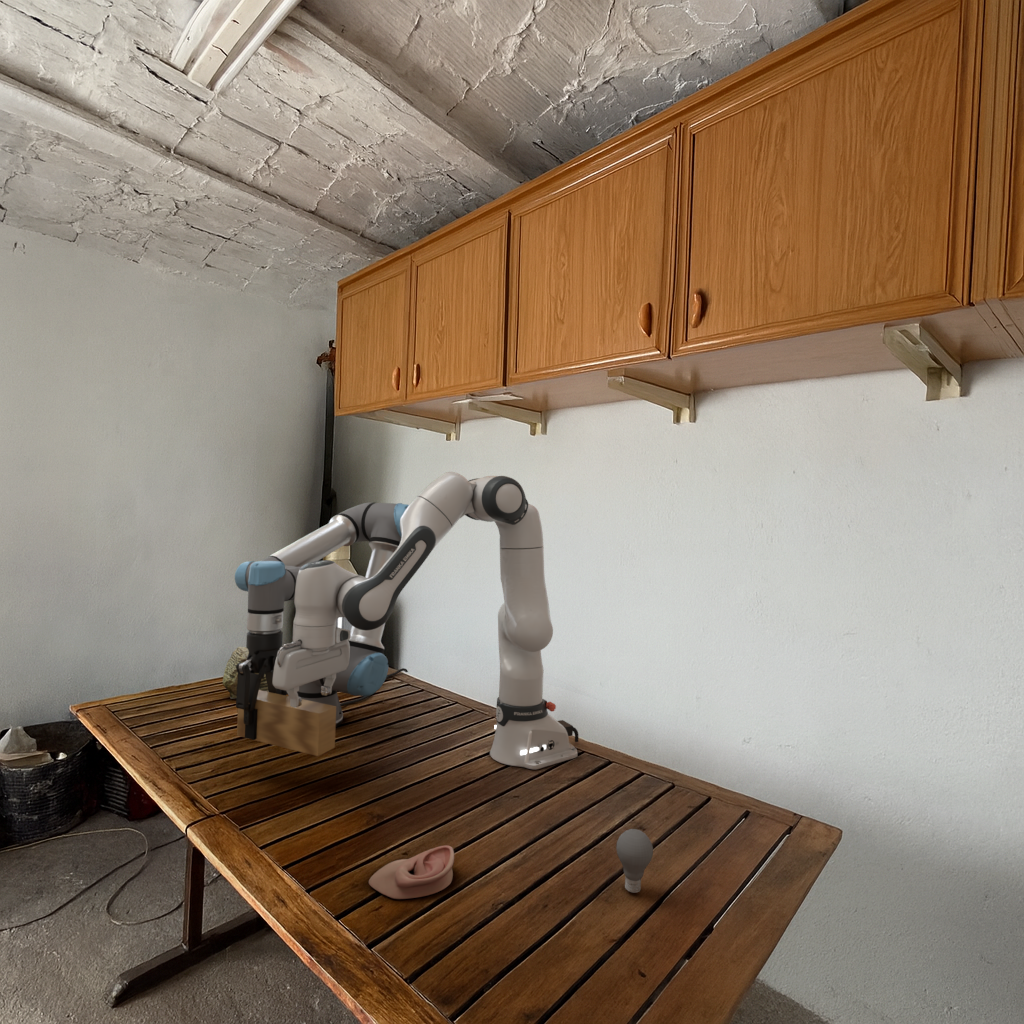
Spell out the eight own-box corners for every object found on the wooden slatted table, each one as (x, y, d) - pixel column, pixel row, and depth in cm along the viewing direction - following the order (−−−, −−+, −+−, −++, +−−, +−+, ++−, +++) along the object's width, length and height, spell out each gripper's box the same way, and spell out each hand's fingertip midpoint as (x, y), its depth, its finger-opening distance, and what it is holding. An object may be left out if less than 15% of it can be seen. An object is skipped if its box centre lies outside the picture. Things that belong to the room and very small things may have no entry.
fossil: (218, 695, 195) (220, 647, 195) (278, 685, 208) (279, 640, 207) (228, 703, 189) (230, 653, 188) (289, 692, 201) (290, 645, 201)
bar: (236, 735, 141) (238, 695, 141) (255, 728, 146) (256, 689, 146) (317, 756, 132) (319, 713, 132) (334, 747, 137) (336, 706, 137)
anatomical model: (361, 868, 102) (389, 832, 113) (360, 893, 102) (388, 854, 113) (440, 882, 99) (460, 843, 110) (439, 907, 99) (459, 866, 110)
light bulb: (610, 879, 108) (613, 822, 108) (644, 879, 109) (647, 822, 109) (619, 902, 102) (622, 840, 102) (655, 901, 103) (658, 840, 103)
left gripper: (245, 640, 132) (241, 751, 132) (306, 625, 149) (303, 723, 149) (218, 635, 135) (214, 744, 135) (282, 622, 152) (278, 718, 152)
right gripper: (290, 647, 125) (287, 716, 125) (355, 630, 144) (352, 690, 144) (266, 643, 128) (263, 711, 128) (333, 626, 146) (330, 686, 147)
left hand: (261, 733), depth 142 cm, fingers closed on bar, 5 cm apart
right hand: (311, 700), depth 136 cm, fingers open, 8 cm apart
